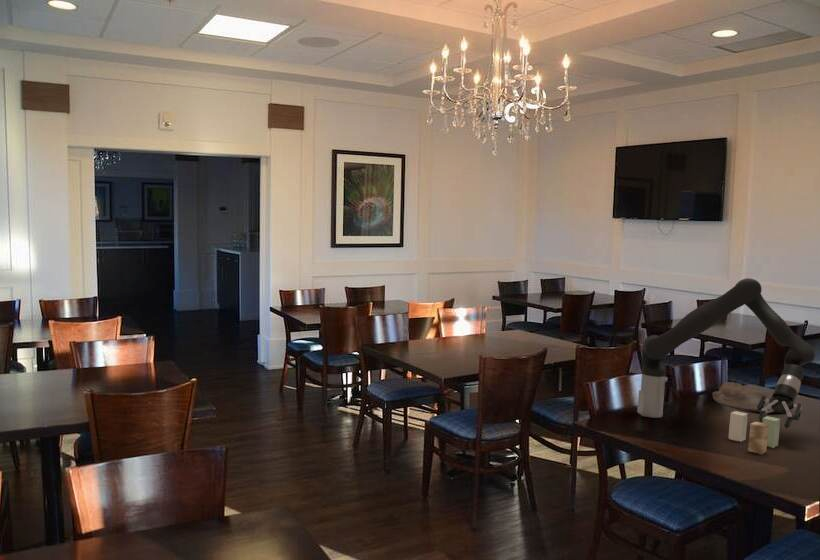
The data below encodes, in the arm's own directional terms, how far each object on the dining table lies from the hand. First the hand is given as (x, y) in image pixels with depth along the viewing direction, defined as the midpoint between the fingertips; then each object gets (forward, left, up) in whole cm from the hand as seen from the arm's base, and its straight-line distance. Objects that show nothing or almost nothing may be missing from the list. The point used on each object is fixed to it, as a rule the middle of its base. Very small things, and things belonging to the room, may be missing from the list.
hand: (773, 424), depth 255 cm
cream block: (-11, +4, -7) cm, 14 cm away
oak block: (-11, -9, -7) cm, 16 cm away
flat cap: (+23, +55, -8) cm, 60 cm away
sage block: (-2, -2, -7) cm, 8 cm away
